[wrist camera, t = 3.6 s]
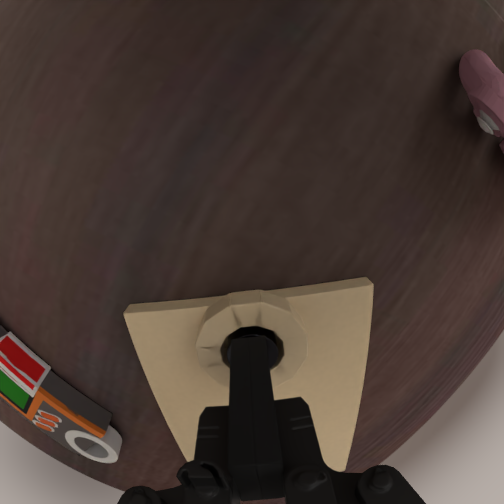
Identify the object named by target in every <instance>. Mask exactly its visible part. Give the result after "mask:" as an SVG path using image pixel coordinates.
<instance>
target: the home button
mask: <svg viewBox="0 0 504 504" xmlns="http://www.w3.org/2000/svg"><path fill="white" fill-rule="evenodd" d="M258 336H265V338H266V346H267V353H268V360H269V367H270V368H272V367H273V366H274V364H275V363H276V361H277V359H278V347H277V342H276V337H275V333H274V331H272V330H269V329H266V328H263V327H260V326H249V327H240V328H239V329H237V330H236V331H234V332H233V333H231V334H229V335H228V342H227V359H228V362H229V364H230V356H231V339H240V338H249V337H258Z"/></svg>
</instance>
